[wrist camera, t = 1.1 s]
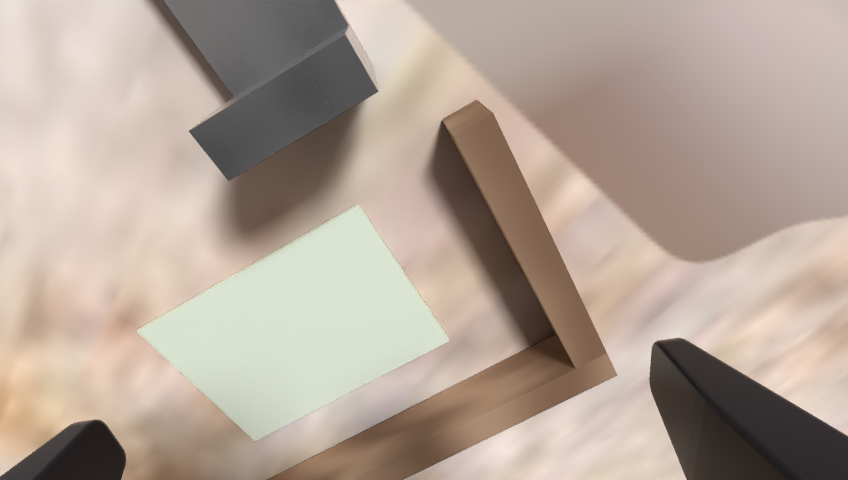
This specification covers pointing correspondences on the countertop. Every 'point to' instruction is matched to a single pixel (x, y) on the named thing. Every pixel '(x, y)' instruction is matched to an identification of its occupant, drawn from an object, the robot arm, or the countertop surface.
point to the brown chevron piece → (504, 382)
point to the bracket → (273, 73)
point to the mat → (299, 326)
